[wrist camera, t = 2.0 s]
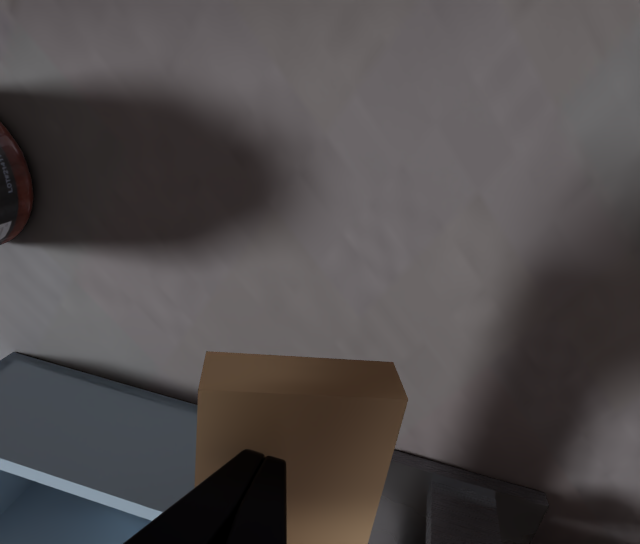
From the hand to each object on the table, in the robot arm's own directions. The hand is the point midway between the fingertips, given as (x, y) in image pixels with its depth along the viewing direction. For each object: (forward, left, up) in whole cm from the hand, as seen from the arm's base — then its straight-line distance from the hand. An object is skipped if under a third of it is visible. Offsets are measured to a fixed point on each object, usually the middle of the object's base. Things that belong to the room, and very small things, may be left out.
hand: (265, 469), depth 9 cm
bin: (+9, +11, -8) cm, 16 cm away
